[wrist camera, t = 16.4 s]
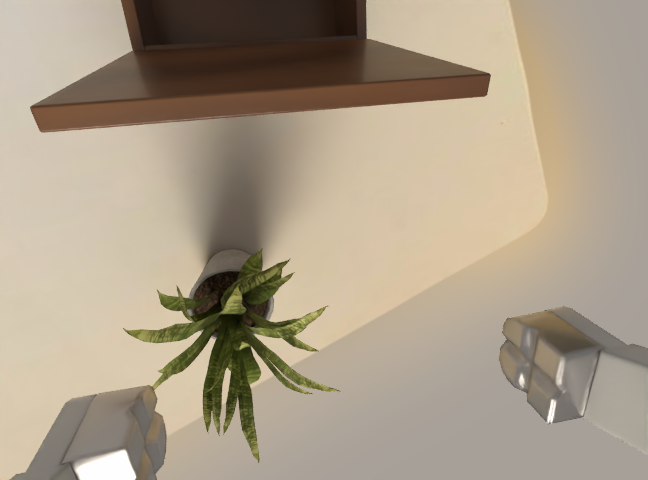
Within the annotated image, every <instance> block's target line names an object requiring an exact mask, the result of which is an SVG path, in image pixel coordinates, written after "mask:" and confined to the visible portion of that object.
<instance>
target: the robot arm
mask: <svg viewBox="0 0 648 480" xmlns="http://www.w3.org/2000/svg"><path fill="white" fill-rule="evenodd" d="M502 333H503V335H504V336H505V337H506V339H507V340H506V341H505V342H504V344H503V345H502V346H501V348H500V356H499V361H500V364H501V368H502V371H503V373H504V374H505V376H506V378H507V380H508V381H509V382H510V383H511V384H512V385H513V386H514V387H515V388H517V389H519V390H521V391H524V392H526V393H527V402H528V403H529V404H530V405H531V406H532V407H533V408H534V409H535V410H536V411H537V412H538V413H539V414H540V416H541V417H542V418H543V419H544V420H545V421H546V422H547V423H548V424H552V423H557V422H562V421H566V420H572V419H576V418H581V417H584V418H583V419H584V420H586V421H587V422H589V423H591V424H593V425H595V426H596V427H598V428H600V429H602V430H604V431H605V432H607V433H609V434H611V435H613V436H614V437H616V438H618V439H620V440H622V441H624V442H625V443H627V444H629V445H631V446H632V447H634V448H636V449H638V450H640V451H641V452H643V453H645V454H647V455H648V348H645V347H642V346H639V345H635V344H630V345H626V344H625V343H624V342H622V341H620V340H619V339H617V338H616V337H614V336H613V335H611V334H610V333H608V332H607V331H605V330H603V329H602V328H601V327H599V326H598V325H596V324H594V323H593V322H591V321H590V320H588V319H587V318H585V317H584V316H582V315H581V314H579V313H578V312H576V311H575V310H573V309H571V308H568V307H559V308H555V309H550V310H545V311H543V312H538V313H533V314H528V315H522V316H517V317H512V318H507V319H506V321H505V323H504V325H503V331H502ZM156 403H157V397H156V394H155V392H154V389H153V387H151V386H149V385H147V386H141V387H135V388H129V389H123V390H117V391H111V392H105V393H99V394H95V395H89V396H83V397H77V398H72V399H71V400H69V401H68V402H66V403H65V405H64V406H63V408H62V410H61V411H60V413H59V415H58V417H57V418H56V420H55V422H54V424H53V425H52V427H51V429H50V431H49V432H48V434H47V436H46V438H45V439H44V441H43V443H42V445H41V446H40V448H39V450H38V452H37V453H36V455H35V457H34V459H33V460H32V462H31V464H30V465H29V467H28V469H27V471H26V472H25V473H21V474H16V475H15V476H14V477H12V478H11V479H10V480H157V478H156V475H155V474H156V472H157V471H158V470H159V469H160V468H161V467H162V465H163V464H164V459H165V453H166V429H165V424H164V420H163V417H162V415H160V414H159V413H157V412H156V411H154V410H155V407H156Z"/></svg>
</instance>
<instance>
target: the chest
mask: <svg viewBox="0 0 648 480" xmlns="http://www.w3.org/2000/svg"><path fill="white" fill-rule="evenodd" d="M121 2H122V6H123V11H124V15H125V19H126V23H127V28H128V32H129V36H130V40H131V45H132V49H133V51H144V50H163V49H182V48H202V47H221V46H240V45H260V44H279V43H298V42H318V41H337V40H356V39H367V33H366V0H121Z"/></svg>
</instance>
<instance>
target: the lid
mask: <svg viewBox="0 0 648 480" xmlns="http://www.w3.org/2000/svg"><path fill="white" fill-rule="evenodd" d="M490 77H491V75H490V74H489V73H486V72H483V71H479V70H476V69H472V68H469V67H465V66H462V65H458V64H455V63H451V62H448V61H444V60H441V59H437V58H434V57H430V56H427V55H423V54H420V53H416V52H413V51H409V50H406V49H402V48H399V47H395V46H392V45H388V44H385V43H381V42H378V41H374V40H371V39H356V40H337V41H318V42H298V43H279V44H260V45H240V46H221V47H202V48H182V49H163V50H144V51H131V52H129V53H128V54H126V55H124V56H122V57H120V58H118V59H117V60H115V61H113V62H111V63H109V64H107V65H106V66H104V67H102V68H100V69H98V70H96V71H95V72H93V73H91V74H89V75H87V76H86V77H84V78H82V79H80V80H78V81H76V82H75V83H73V84H71V85H69V86H67V87H65V88H64V89H62V90H60V91H58V92H56V93H54V94H53V95H51V96H49V97H47V98H45V99H43V100H42V101H40V102H38V103H36V104H34V105H32V106H31V107H30V109H31V112H32V114H33V116H34V118H35V121H36V123H37V125H38V128H39V130H40V131H41V132H56V131H68V130H81V129H93V128H105V127H117V126H130V125H142V124H154V123H166V122H179V121H191V120H203V119H215V118H228V117H240V116H252V115H264V114H277V113H289V112H301V111H313V110H325V109H338V108H350V107H362V106H374V105H387V104H399V103H411V102H423V101H436V100H448V99H460V98H472V97H484V96H486V95H487V92H488V87H489V82H490Z"/></svg>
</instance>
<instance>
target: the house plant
mask: <svg viewBox="0 0 648 480" xmlns="http://www.w3.org/2000/svg"><path fill="white" fill-rule="evenodd" d="M289 260H290V259H289ZM289 260H288V261H285V262H281V263H278V264H276V265H274V266H273V267H271V268H269V269H267V270H265V271H262V249H261V250H260V251H259V252H258V253H256V254H254V255H252V256H251V255H250V254H248V253H247V252H245V251H242V250H238V249H228V250H223V251H221V252H219V253H217V254H215V255H214V256H213V257H212V258H211V259H210V261H209V262H208V264H207V265H206V267H205V269H204V270H203V272H202V273H201V275H200V277H199V278H198V280H197V282H196V283H195V285H194V287H193V288H192V290H191V292H190V295H189V298H183V297H182V294H181V292H180V290H179V288H178V287H177V291H178V295H179V297H173V296H167V295H164V294H161V293H160V292H159V291H158V290H157V291H158V294H159V298H160V302H161V304H162V305H163V306H164V307H165V308H167V309H169V310H173V311H182V312H183V314H184V315H185V317H186V318H187V319H188V320H190V321H192V323H186V324H175V325H173V326H170V327H167V328H164V329H161V330H132V331H128V330H125V329H124V328H123V329H124V330H125V331H126V332H127V333H128V334H129V335H131V336H133V337H135V338H137V339H140V340H142V341H145V342H152V343H164V342H172V341H180V340H183V339H187V338H188V337H190V336H191V335H193V334H194V333H196V332H198V331H201V332H202V334H201V335H200V337H199V338H198V339H197V340H196V341H195V342H194V343H193V344H192V346H190V347H189V348H188V349H187V350H185V351H184V352H183V353H181V354H180V355H179V356H177V357H176V358H175V359H173V360H172V361H171V362H170V363H168V364H167V365H166V366H165V367H164V368H163V369H162V370H159V371H158V372H160V373H164V374H163V375H162V376H161V377H160V378H159V379H158V381H157V382H156V383H155V384H154V385H153V389H154V390H155V389H156V388H157V387H158V386H159V385H160V384H161V383H162V382H164V381H165V380H167V379H168V378H169V377H170V376H172V375H173V374H177V373H179V372H182V371H183V370H184V369H186V368H187V367H188V366H189V365H190V364H191V363H192V362H193V361H194V360H195V358H196V357H197V356H198V355H199V354H200V352H201V351H202V350H203V348H204V347H205V346H206V344H207V343H208V341H209V339H210V337H211V338H213V339H216V341H215V344H214V347H213V349H212V352H211V356H210V361H209V366H208V371H207V375H206V379H205V383H204V389H203V414H204V420H205V423H206V429H207V432H208V429H209V426H210V422H211V411H213V419H214V424H215V426H216V429H217V432H218V434H219V431H220V420H219V417H220V413H221V403H222V384H223V379H224V374H225V370H226V368H227V367H228V369H229V370H230V371H231V378H230V385H229V391H228V397H227V402H226V419H225V423H224V433H225V432H226V430H227V428H228V426H229V424H230V422H231V419H232V417H233V414H234V411H235V407H236V402H237V397H238V400H239V410H240V418H241V425H242V430H243V433H244V435H245V437H246V439H247V441H248V443H249V445H250V448H251V451H252V454H253V455H254V456H255V458H256V459H257V460H258V462H259V452H258V445H257V437H256V430H255V424H254V416H253V403H252V394H251V388H250V384H252V383H253V382H255V381H257V380H258V379H259V378H260V376H261V371H260V368H259V366H258V364H257V362H256V360H255V358H254V356H253V353H252V350H251V346H252V347H253V349H254V350H255V351H256V353H257V354H258V355H259V356H260V357H261V358H262V360H263V361H264V362H265V363H266V365H267V366H268V367H269V369H270V370H271V371H272V372H273V374H274V375H275V376H276V377H277V378H278V380H279V381H280V382H282V383H283V384H284V385H285V386H286V387H288V388H290V389H292V390H294V391H298V392H301V393H304V394H312V393H309V392H306V391H304V390H302V389H300V388H298V387H296V386H294V385H293V384H292V383H290V382H289V381H288V380H286V379H285V378H284V377H282V375H281V374H280V373H279V372H278V371H277V369H276V368H275V367H274V366H273V364H274V365H275V366H276V367H277V368H278V369H279V370H280V371H281V372H282V373H283V374H284V375H285V376H287V377H288V378H289V379H291V380H292V381H294V382H295V383H297V384H298V385H301V386H304V387H308V388H313V389H318V390H322V391H338V390H336V389H333V388H330V387H327V386H324V385H321V384H318V383H316V382H313V381H311V380H309V379H307V378H305V377H303V376H301V375H300V374H298V373H297V372H295V371H294V370H293V369H291V368H290V367H289V366H288V365H287V364H286V363H285V362H284V361H283V360H282V359H281V358H279V357H278V356H277V355H276V354H275V353H274V352H272V351H271V350H270V349H268V348H267V347H266V346H265V345H264V344H263V343H262V342H261V341H259V340H258V339H257V338H256V337H255V336H254V334H259V335H263V336H267V337H274V338H283V339H284V340H285V341H287V342H288V343H289V344H291V345H292V346H294V347H297V348H300V349H304V350H307V351H318V350H316V349H314V348H312V347H310V346H308V345H306V344H304V343H303V342H301V341H299V340H298V339H296V338H295V337H294V335H296V334H298V333H300V332H301V331H303V330H304V329H305V328H306V326H307V325H308V324H309V323H311V322H312V321H314V320H315V319H316V318H318V317H319V316H320V315H321V314H322V312H323V311H324V310H325V308H326V307H328V306H326V307H323V308H321V309H319V310H317V311H315V312H313V313H309V314H307V315H306V316H304V317H302V318H300V319H292V320H287V321H283V322H277V323H275V322H270V321H269V319H270V317H271V314H272V312H273V306H274V299H273V295H274V294H275V293H276V292H277V290H278V288H279V287H280V286H281V285H282V284H284V283H285V282H287V281H288V280H289V279H290V278H291V276H292V275H293V273H291V274H289V275H288V276H286V277H283V278H281V273H282V268H283V267H284V266H285V265H286V264H287V263H288V262H289ZM261 271H262V272H261ZM187 310H188V311H187ZM267 358H268V359H269V360H270V361H271V362H272V363H273V364H272V363H271V362H270V361H269V360H268V359H267Z"/></svg>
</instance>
